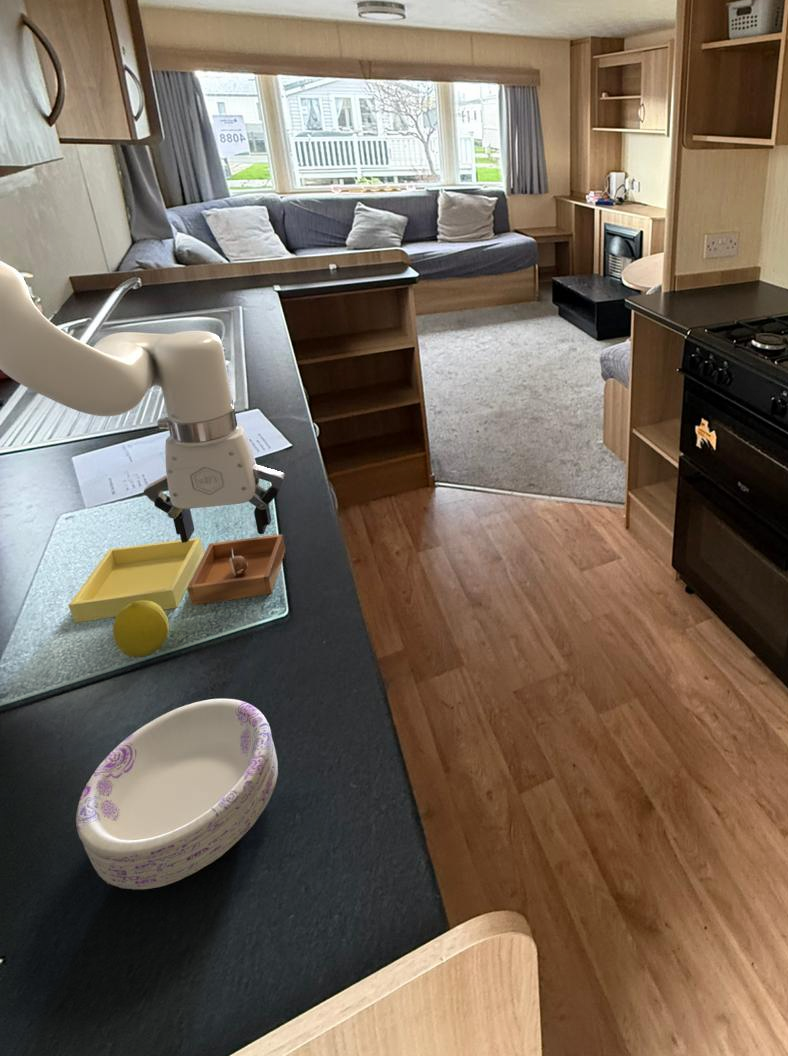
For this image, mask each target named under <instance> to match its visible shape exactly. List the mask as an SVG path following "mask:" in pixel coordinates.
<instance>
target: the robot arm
mask: <svg viewBox="0 0 788 1056" xmlns="http://www.w3.org/2000/svg"><path fill="white" fill-rule="evenodd" d="M0 371H2V372H3V373H4V374H5V375H7V376H8V377H9V378H10V379H12V380H13V381H15V382H17V383H19V384H20V385H22V387H25V388H27V389H29V390H31V391H33V392H35V393H37V394H39V395H41V396H43V397H45V398H48V399H50V400H51V401H54V402H56V403H58V404H59V405H60V404H61V405H63V406H65V407H67V408H70V409H72V410H74V411H77V412H80V413H83V414H87V415H90V416H96V417H105V418H107V417H116V416H120V415H124V414H126V413H128V412H130V411H132V410H133V409H134V408H137V406H138V405H139V404H140V403H141V402H142V400H143V399H144V397H145V396H146V394H147V393H148V391H149V390H150V389H151V388H153V387H155V386H158V387H160V388H161V393H162V396H163V401H164V405H165V410H166V414H167V416H165V417H164V418H163V417H162V418H158V419H157V428H158V429H159V430H161V429H162V430H163V429H165V430H168V432H169V436H168V437H167V438H166V439H165V445H164V446H165V447H164V448H165V449H164V450H165V451H164V453H165V454H164V455H165V457H164V458H165V472H166V475H163V476H162V477H160V478H158V479H156V480H155V481H153V482H151V483H149V484H147V485H146V487H145V488H144V490H143V494H144V495H145V496H146V497H147V498H148V499H149V500H150V501H151V502H153V504H154V506H155V508H157V509H159V510H160V511H162V512H164V513H165V514H167V517H168V518H169V519H172V521H173V524H174V528H175V533H176V535H179V537H180V540H181V542H182V543H184V542H187V541H189V539H191V537H192V535H193V534H194V532H195V523H194V520H193V515H192V511H191V509H200V508H201V509H202V508H212V507H221V506H232V505H233V506H234V505H240V504H245V503H247V502H248V503H250V504H252V505H253V506H254V507H255V508H254V510H253V511H254V512H253V515H254V519H255V520H254V521H255V526H256V530H257V534H259V535H264V534H265V532H266V530H267V527H268V526H270V525H271V523H272V515H271V509H270V503H271V502H272V501H273V500H274V499H275V498H276V497H277V496H278V495H279V492H280V490H281V487H282V485H283V484H284V481H285V479H286V474H285V473H284V472H281V471H277V470H275V469H271V468H267V467H265V466H262V465H258V464H257V461H256V459H255V458H256V457H255V454H254V451H253V448H252V445H251V442H250V439H249V437H248V435H247V433H246V431H245V429H244V427H243V425H242V424H238V421H237V416H236V410H235V405H234V400H233V399H234V398H233V395H232V388H231V384H230V378H229V371H228V366H227V362H226V357H225V350H224V346H223V342H222V340H221V338H220V337H219V336H218V335H217V334H215V333H214V332H211V331H205V330H186V331H178V332H175V333H150V332H138V331H137V332H134V331H123V332H115V333H111V334H108V335H106V336H104V337H102V338H101V339H100V340H98V341H97V342H96V343H95V344H94V345H93V346H91V345H88V344H86V343H85V342H83V341H81V340H79V339H78V338H76V337H74V336H73V335H70V334H68V333H67V332H65V331H64V330H62V329H61V328H59V327H58V326H56V324H54V323H53V322H52V321H50V320H49V319H48V318H47V317H46V316H45V315H43V313H42V312H41V311H40V310H39V308H37V306H36V305H35V303H34V301H33V300H32V298H31V295H30V292H29V289H28V286H27V283H26V281H25V279H24V277H23V275H21V273H20V272H19V271H18V270H17V269H16V268H14V267H13V266H11V265H9V264H7V263H6V262H3V261H2V260H0ZM260 480H263V481H266V482H269V483H270V484H271V485H270V486H269V487H268V489H267V490H266V489H264V488H263V487H262V486H260V485H259V484H260ZM165 489H167V490H168V494H165V493H164V492H163V490H165Z"/></svg>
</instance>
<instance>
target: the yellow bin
mask: <svg viewBox="0 0 788 1056" xmlns="http://www.w3.org/2000/svg"><path fill="white" fill-rule="evenodd" d="M203 546H204V545H203V543H202V539H201V537H194V538H190V539H189V541H187V542H184V543H182V542H181V539H179V540H171V541H163V542H162V541H161V542H153V543H146V544H138V545H130V546H122V547H116V548H115V547H114V548H109V549H108V550H107V551H106V553H105V555H104V556H103V557H102V559H100V561H99V562H98V564H97V566H96V567H95V568H94V569H93V571H92V572H91V573H90V574H89V576H88V577H87V579H86V581H84V584H82V586H81V587H80V589H79V590H78V592H77V593H76V594H75V595H74V597H73V598H72V600H70V602H69V604H68V608H69V609H70V614H71V616H72V619H73V621H74V623H75V624H76V623H83V622H89V621H96V620H103V619H104V620H105V619H110V618H116V616H117V615H118V613H119V612H120V611H121V610H122V609H123V608H124V607H126V606H127V605H129V604H131V603H133V602H136V601H141V600H147V601H152V602H154V603H156V604H158V605H159V606H160V607H161V608H162V609H163V611H164V610H170V609H177V608H178V607H179V605H180V603H181V600H182V599H183V597H184V596H185V593H186V591H187V590H188V589H187V587H188V586H189V584H190V582H191V580H192V578H193V576H194V574H195V572H196V570H197V568H198V566H199V564H200V562H201V560H202V558H203V556H204V554H205V551H204V547H203Z"/></svg>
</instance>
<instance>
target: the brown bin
mask: <svg viewBox="0 0 788 1056" xmlns="http://www.w3.org/2000/svg"><path fill="white" fill-rule="evenodd" d="M232 549H233V556H242V557H243V558H245V559H246V561H247V563H248V565H247V569H246V570H245V571H244V573H242V574H241V575H239V576H234V574H233V571H232V568H231V564H230V558H231V557H233V556H232ZM285 549H286V544H285V539H284V535H283V533H279V534H273V535H265V536H257V537H251V538H242V539H236V540H235V539H234V540H227V541H219V542H211V543H209V544H208V546H207V548H206V550H205V551H204V555H203V557H202V559H201V561H200V563H199V565H198V567H197V569H196V571H195V573H194V575H193V577H192V579H191V581H190V583H189V585H188V587H187V589H186V590H187V593H188V596H189V599H190V604H191V606H198V605H205V604H210V603H218V602H225V601H231V600H238V599H244V598H251V597H252V598H253V597H257V596H258V597H259V596H266V595H271V594H273V592H274V589H275V585H276V582H277V578H278V576H279V573H280V571H281V567H282V564H283V560H284V557H285V554H286V551H285ZM286 550H287V549H286ZM284 553H285V554H284ZM282 559H283V560H282ZM280 566H281V567H280Z"/></svg>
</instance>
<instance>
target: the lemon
mask: <svg viewBox="0 0 788 1056" xmlns="http://www.w3.org/2000/svg"><path fill="white" fill-rule="evenodd" d="M112 626H113V627H112V635H113V640H114V643H115V646H116V647H117V648H118V650H119V651H120V652H121V653H122V654H124V655H126V656H127V657H130V658H144V657H147V656H151V655H152V654H153V653H156V652H157V651H158V650H159V649H160V648H161V647H163V645H164V644H165V642H166V641H167V638H168V636H169V632H170V624H169V618H168V615H167V614H166V612H165V611H164V610H163V609H162V608H161V607H160V606H159V605H158V604H156V603H154V602H152V601H147V600H141V601H136V602H133V603H131V604H129V605H127V606H126V607H124V608H123V609H122V610H121V611H120V612H119V613H118V615H117V616H116V617H114V621H113V625H112Z"/></svg>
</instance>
